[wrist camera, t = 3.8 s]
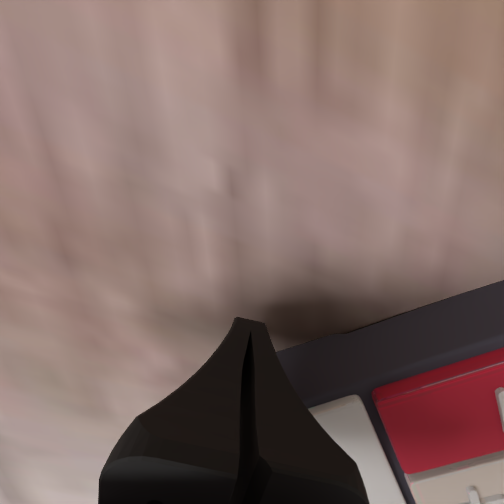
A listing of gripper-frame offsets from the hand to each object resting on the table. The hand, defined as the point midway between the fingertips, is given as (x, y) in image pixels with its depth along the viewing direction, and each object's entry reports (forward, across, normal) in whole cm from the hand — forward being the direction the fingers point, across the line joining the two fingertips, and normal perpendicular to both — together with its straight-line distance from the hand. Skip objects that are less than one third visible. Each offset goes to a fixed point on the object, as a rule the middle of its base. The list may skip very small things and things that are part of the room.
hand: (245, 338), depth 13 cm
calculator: (+2, -10, +2) cm, 11 cm away
